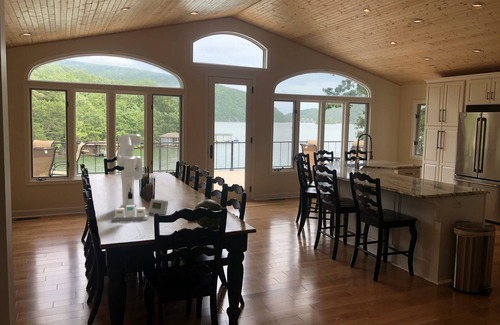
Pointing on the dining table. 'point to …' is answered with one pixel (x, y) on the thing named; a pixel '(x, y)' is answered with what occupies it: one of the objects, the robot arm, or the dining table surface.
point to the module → (130, 211)
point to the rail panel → (122, 217)
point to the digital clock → (158, 206)
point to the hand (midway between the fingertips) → (130, 198)
